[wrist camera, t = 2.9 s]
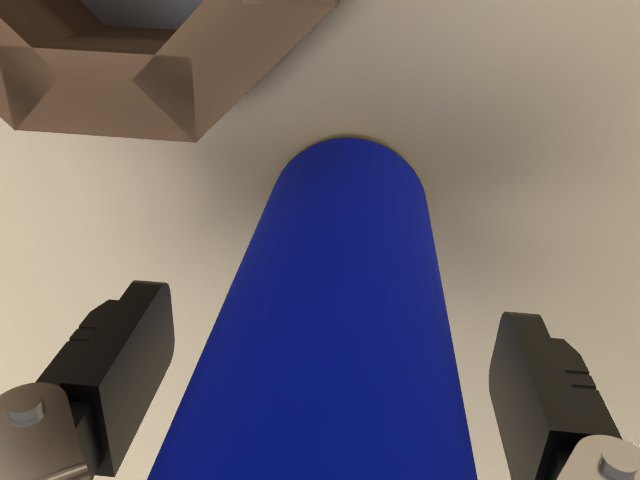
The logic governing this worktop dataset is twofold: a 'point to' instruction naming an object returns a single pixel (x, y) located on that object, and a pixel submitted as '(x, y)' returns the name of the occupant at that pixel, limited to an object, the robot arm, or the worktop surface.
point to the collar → (140, 61)
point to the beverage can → (329, 338)
